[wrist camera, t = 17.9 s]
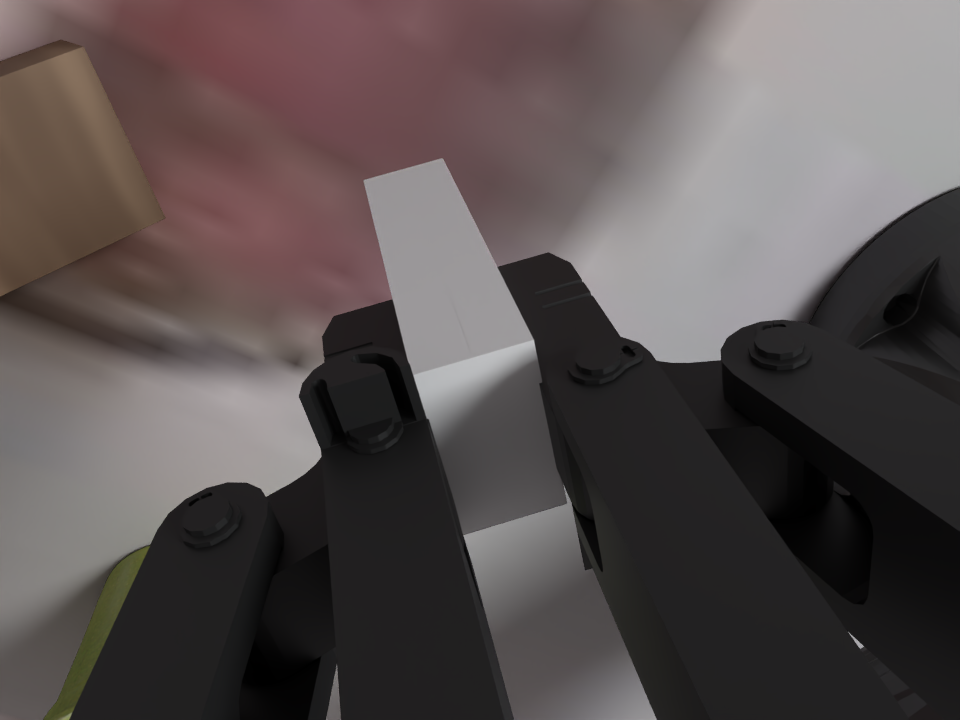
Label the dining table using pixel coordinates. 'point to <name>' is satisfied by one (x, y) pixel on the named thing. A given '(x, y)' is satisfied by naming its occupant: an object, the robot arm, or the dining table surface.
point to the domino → (62, 166)
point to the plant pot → (97, 633)
